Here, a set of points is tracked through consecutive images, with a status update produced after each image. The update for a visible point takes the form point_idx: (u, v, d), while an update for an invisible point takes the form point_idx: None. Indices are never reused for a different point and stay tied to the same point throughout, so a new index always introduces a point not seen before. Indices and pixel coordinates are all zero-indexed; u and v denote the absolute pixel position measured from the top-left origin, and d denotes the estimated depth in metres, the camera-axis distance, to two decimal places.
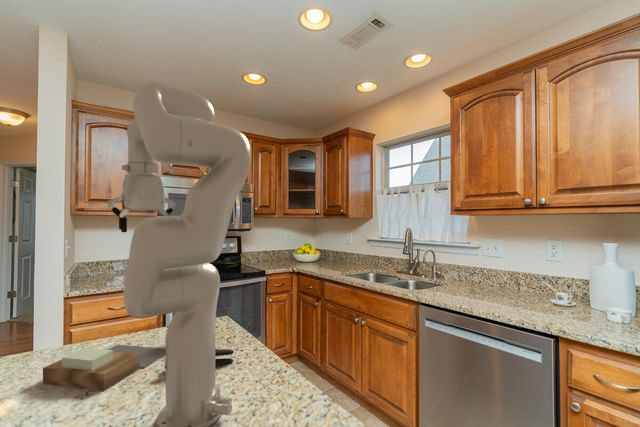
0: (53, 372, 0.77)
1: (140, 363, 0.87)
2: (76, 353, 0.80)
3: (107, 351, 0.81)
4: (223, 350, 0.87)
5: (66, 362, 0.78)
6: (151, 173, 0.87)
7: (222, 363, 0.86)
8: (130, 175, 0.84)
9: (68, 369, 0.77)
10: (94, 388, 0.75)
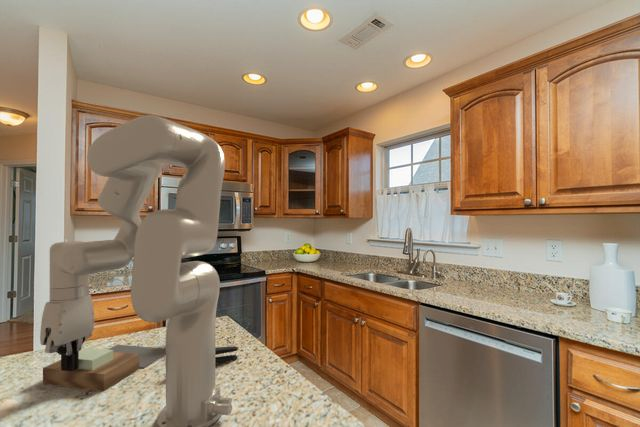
0: (53, 372, 0.77)
1: (140, 363, 0.87)
2: None
3: (107, 351, 0.81)
4: (228, 347, 0.89)
5: None
6: None
7: (228, 360, 0.88)
8: None
9: None
10: (94, 388, 0.75)
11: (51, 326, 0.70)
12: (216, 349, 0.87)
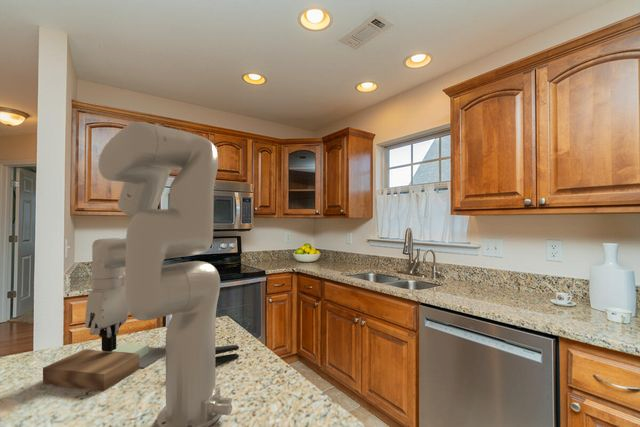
0: (53, 372, 0.77)
1: (140, 363, 0.87)
2: None
3: None
4: (230, 346, 0.90)
5: None
6: None
7: (230, 358, 0.89)
8: None
9: (68, 369, 0.77)
10: (94, 388, 0.75)
11: (95, 311, 0.81)
12: (218, 348, 0.87)
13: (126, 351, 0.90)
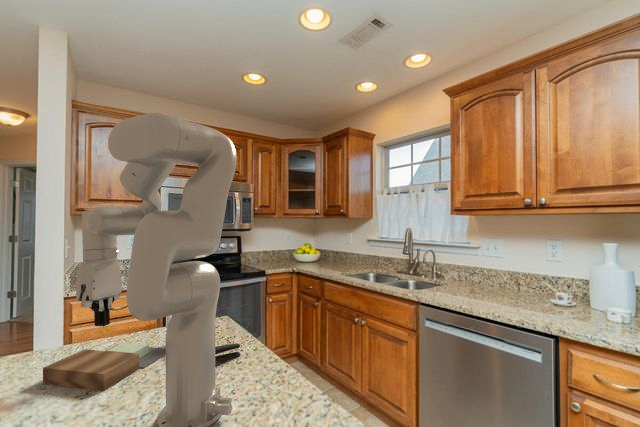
0: (53, 372, 0.77)
1: (140, 363, 0.87)
2: None
3: None
4: (232, 344, 0.91)
5: None
6: None
7: (233, 357, 0.90)
8: None
9: (68, 369, 0.77)
10: (94, 388, 0.75)
11: (86, 283, 0.78)
12: (222, 347, 0.88)
13: (126, 351, 0.90)
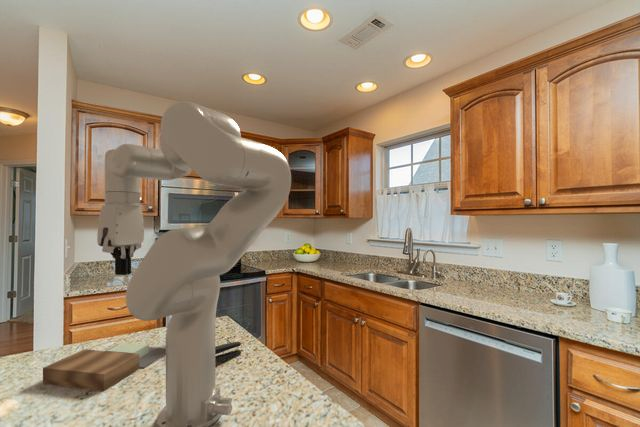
0: (53, 372, 0.77)
1: (140, 363, 0.87)
2: None
3: None
4: (233, 343, 0.92)
5: None
6: None
7: (235, 355, 0.91)
8: None
9: (68, 369, 0.77)
10: (94, 388, 0.75)
11: (108, 226, 0.73)
12: (224, 346, 0.89)
13: (126, 351, 0.90)
